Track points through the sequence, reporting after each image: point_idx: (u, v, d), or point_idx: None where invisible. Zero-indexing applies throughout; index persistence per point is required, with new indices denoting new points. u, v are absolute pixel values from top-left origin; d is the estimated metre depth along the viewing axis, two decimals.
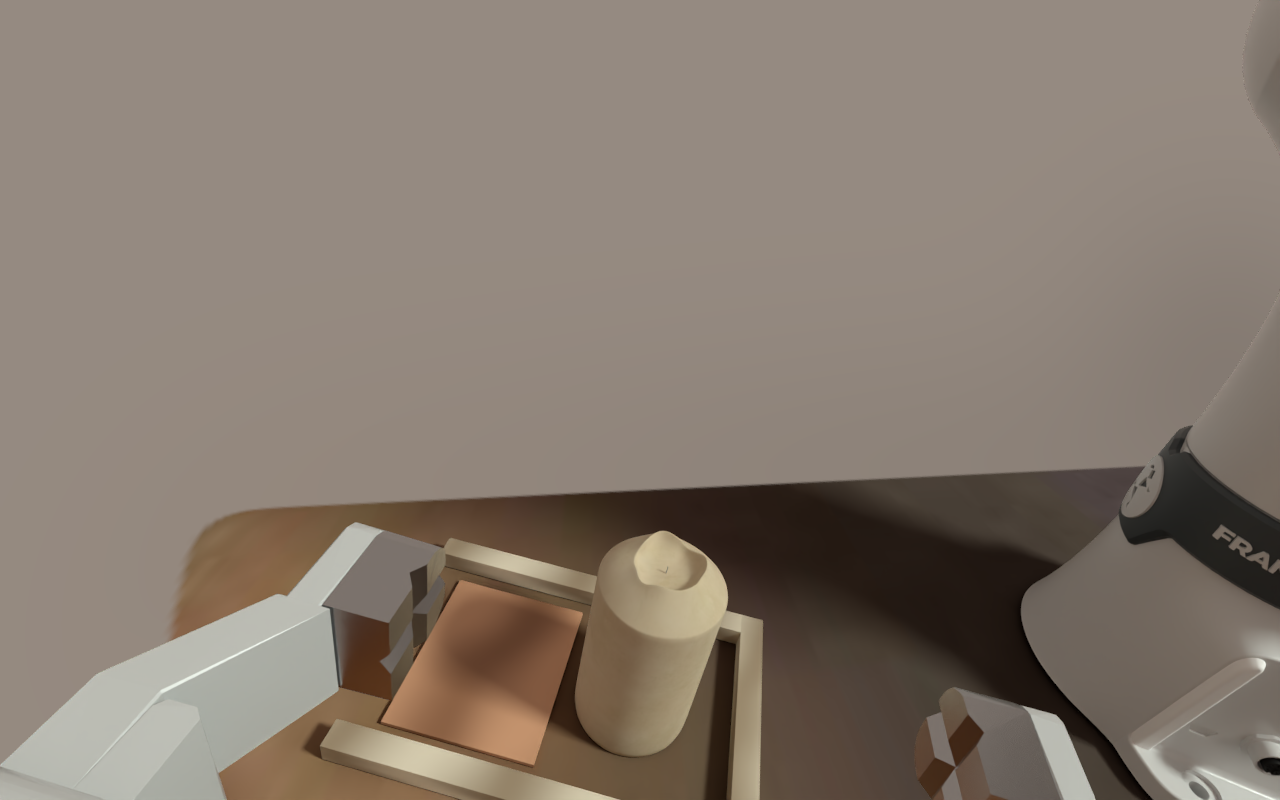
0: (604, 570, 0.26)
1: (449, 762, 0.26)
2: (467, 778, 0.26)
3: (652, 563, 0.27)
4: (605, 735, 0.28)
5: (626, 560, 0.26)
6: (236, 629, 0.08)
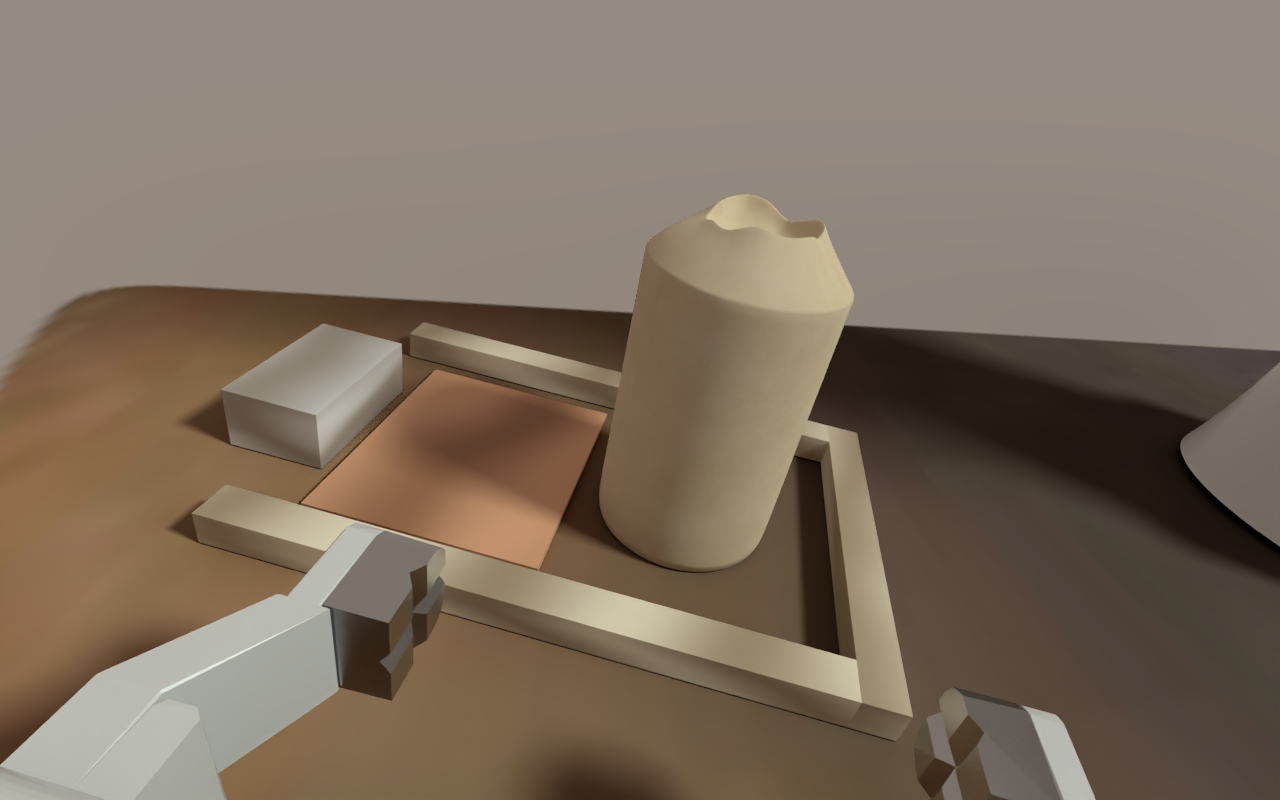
0: (657, 239, 0.16)
1: None
2: None
3: None
4: (648, 531, 0.18)
5: (693, 221, 0.16)
6: (236, 629, 0.08)
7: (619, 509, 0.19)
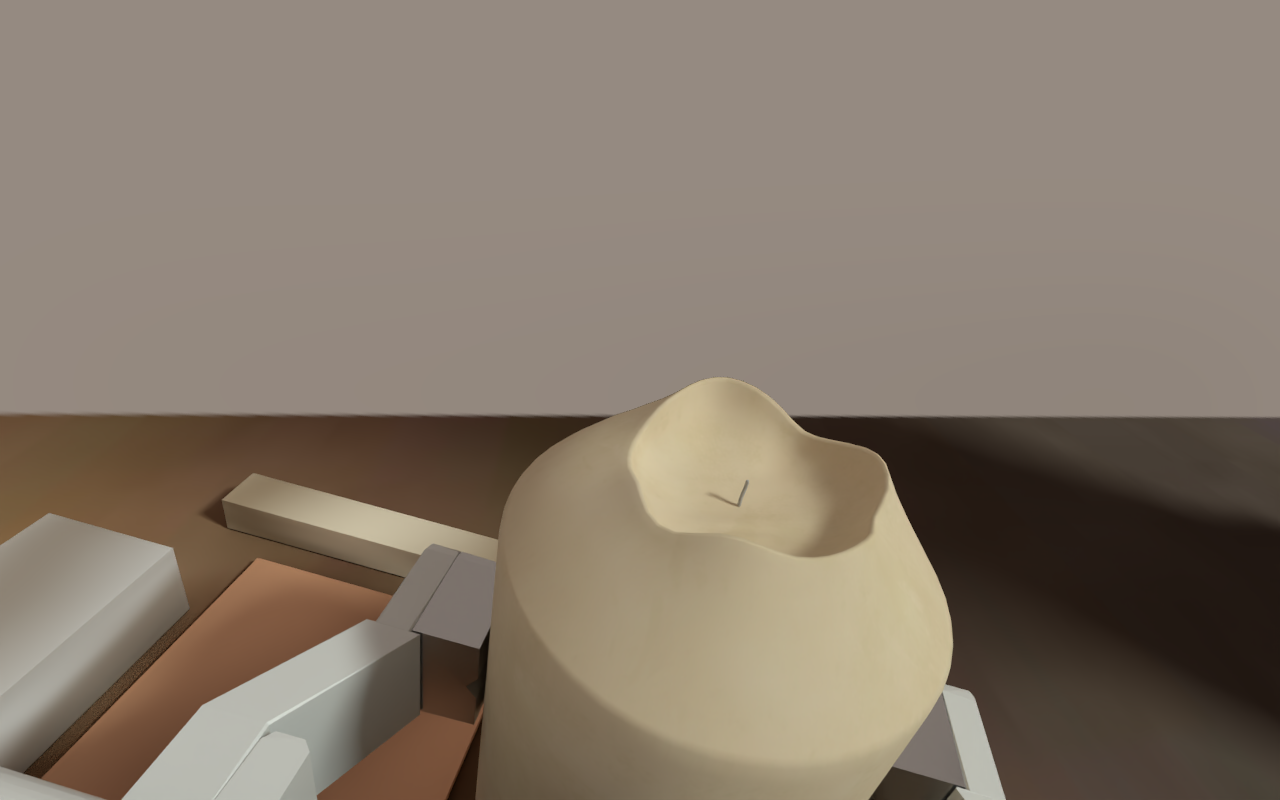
0: (525, 493, 0.08)
1: None
2: None
3: (690, 474, 0.08)
4: None
5: (601, 458, 0.07)
6: (332, 657, 0.08)
7: None
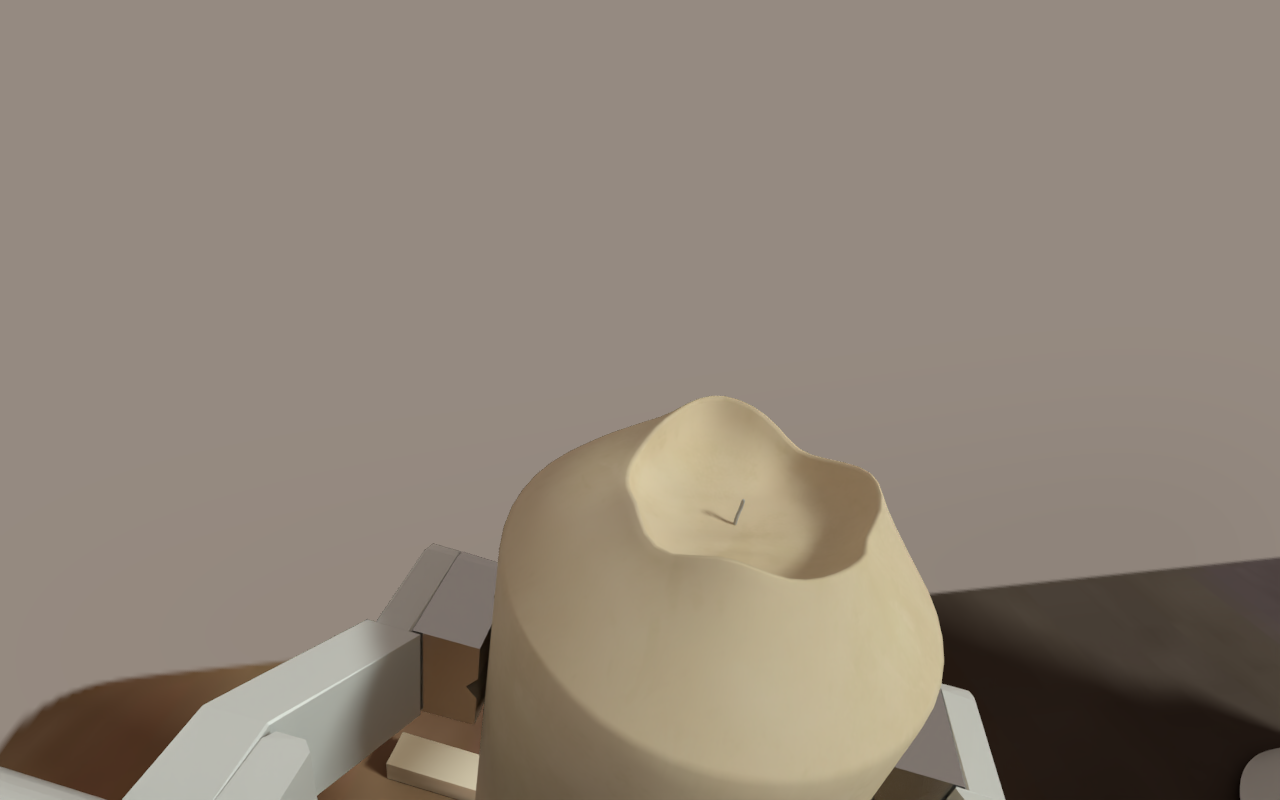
0: (525, 511, 0.08)
1: None
2: None
3: (687, 493, 0.08)
4: None
5: (600, 477, 0.08)
6: (332, 657, 0.08)
7: None
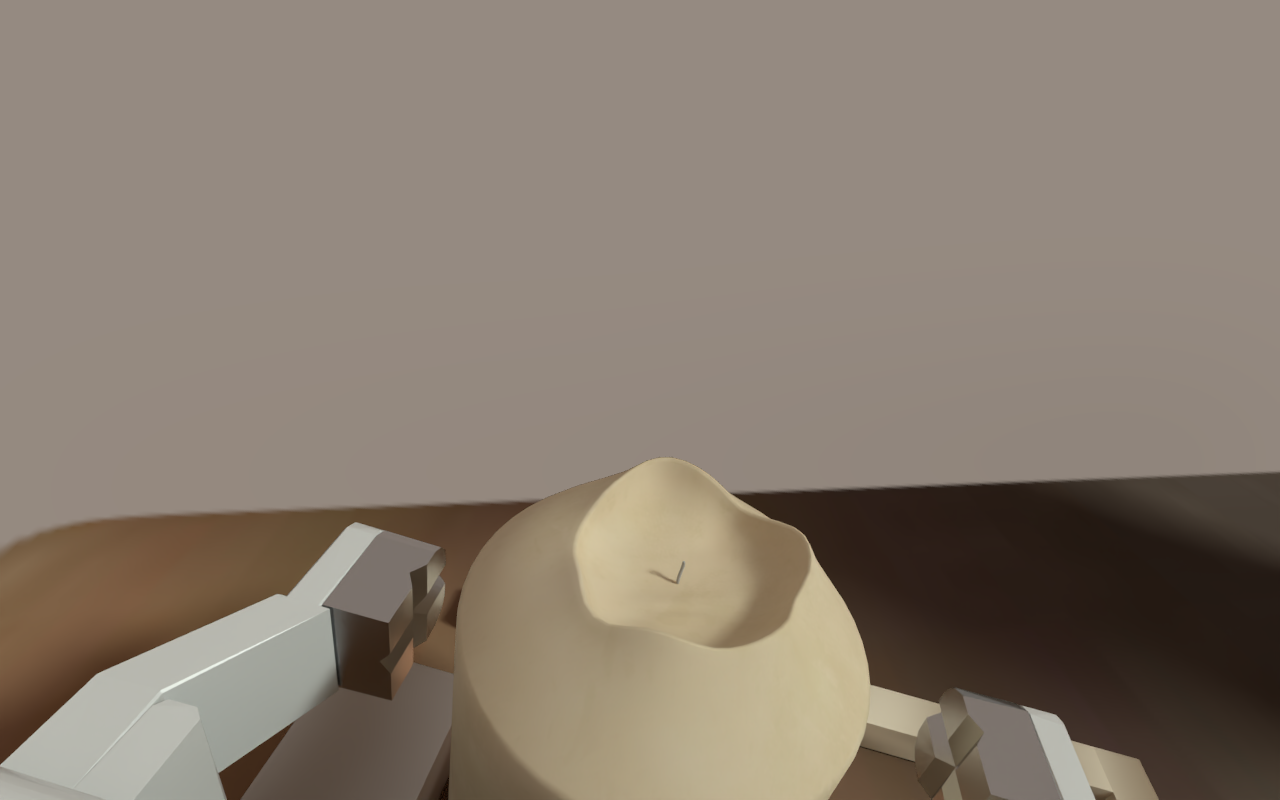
0: (482, 572, 0.08)
1: None
2: None
3: (634, 552, 0.09)
4: None
5: (551, 542, 0.08)
6: (236, 629, 0.08)
7: None
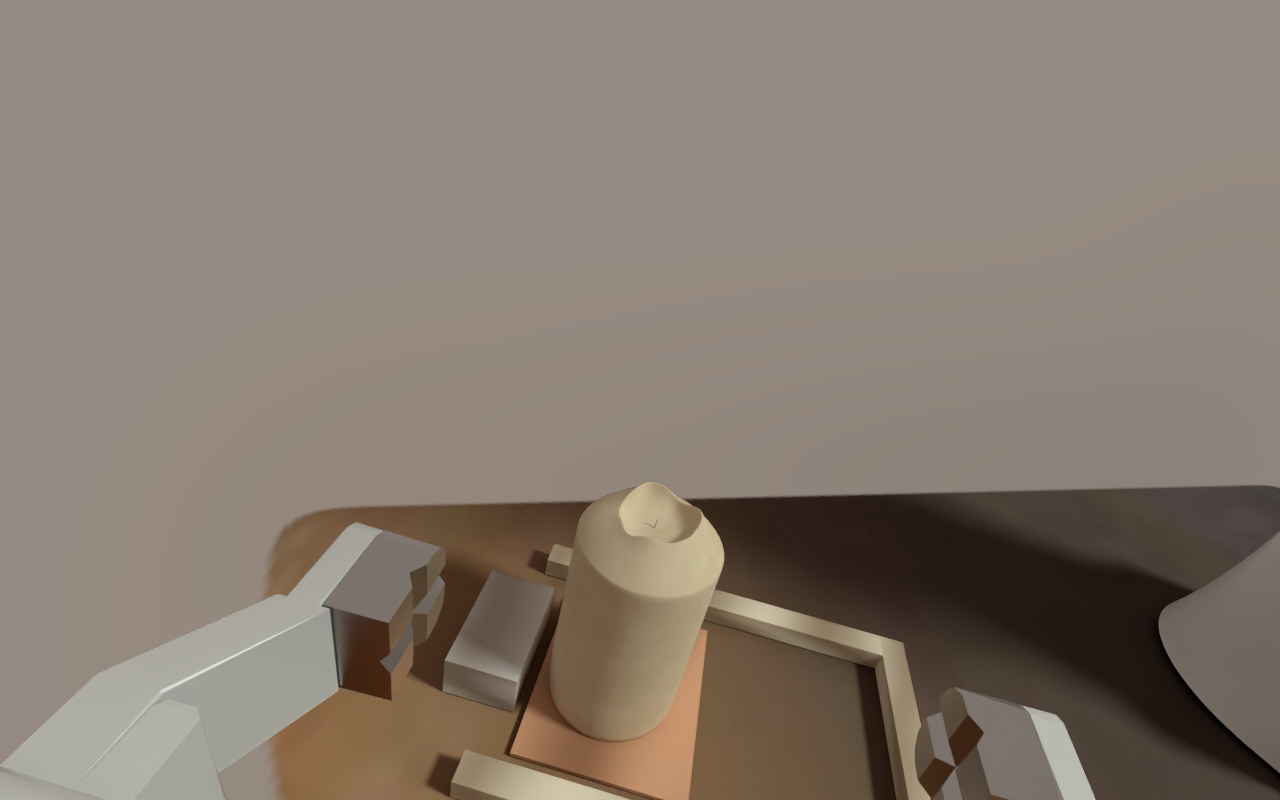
0: (584, 523, 0.23)
1: None
2: None
3: (639, 516, 0.23)
4: (581, 716, 0.25)
5: (610, 511, 0.23)
6: (236, 629, 0.08)
7: (561, 695, 0.26)
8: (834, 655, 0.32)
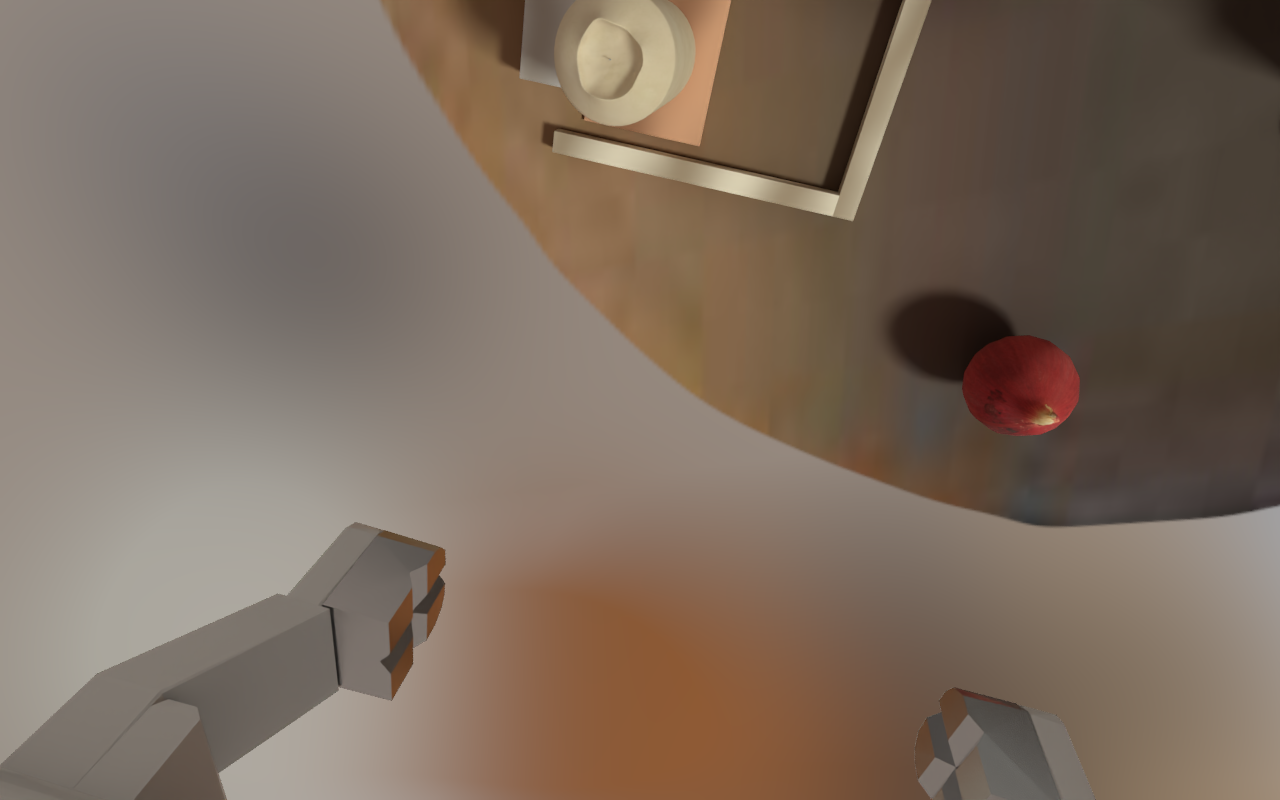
0: (557, 57, 0.29)
1: (638, 157, 0.38)
2: (653, 168, 0.38)
3: (597, 49, 0.28)
4: None
5: (571, 55, 0.28)
6: (236, 629, 0.08)
7: None
8: None
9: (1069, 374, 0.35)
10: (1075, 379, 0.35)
